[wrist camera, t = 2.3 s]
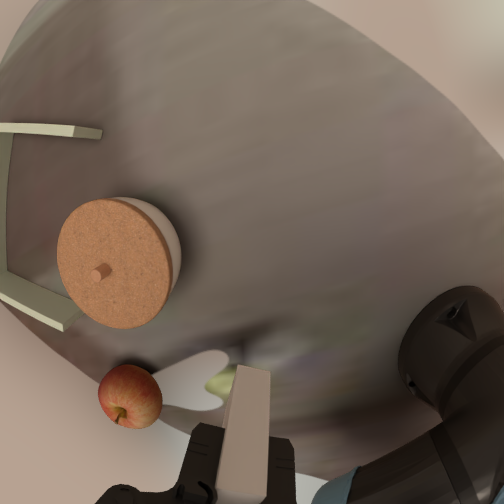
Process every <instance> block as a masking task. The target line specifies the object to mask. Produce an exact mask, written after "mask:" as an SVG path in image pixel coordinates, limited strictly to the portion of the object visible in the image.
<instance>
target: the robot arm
mask: <svg viewBox="0 0 504 504" xmlns="http://www.w3.org/2000/svg"><path fill="white" fill-rule="evenodd" d="M398 367H399V372H400V375H401V377H402V379H403V381H404V383H405V384H406V386H407V388H408V389H409V391H410V392H411V393H412V394H413V395H415V396H416V397H418V398H419V399H420V400H422V401H423V402H424V403H426V404H427V405H428V406H430V407H431V408H433V409H434V410H435V411H437V412H438V413H439V415H440V416H441V418H442V420H443V422H442V423H440V424H439V425H437V426H436V427H434V428H432V429H431V430H429V431H427V432H426V433H424V434H422V435H421V436H419V437H417V438H416V439H414V440H412V441H411V442H409V443H407V444H405V445H403V446H402V447H400V448H398V449H396V450H394V451H392V452H390V453H389V454H387V455H385V456H383V457H381V458H379V459H377V460H375V461H373V462H370V463H368V464H366V465H364V466H357V467H355V468H354V469H353V470H352V471H350V472H348V473H346V474H344V475H342V476H340V477H337V478H335V479H333V480H331V481H329V482H327V483H326V484H324V485H323V486H322V487H321V488H320V489H319V490H318V491H317V493H316V494H315V496H314V498H313V500H312V503H311V504H504V313H503V312H502V310H501V308H500V306H499V304H498V303H497V302H496V300H495V299H494V298H493V297H491V296H490V295H489V294H487V293H486V292H485V291H483V290H482V289H480V288H477V287H473V286H463V287H458V288H455V289H452V290H450V291H448V292H446V293H444V294H442V295H440V296H439V297H438V298H436V299H435V300H433V301H432V302H431V303H430V304H429V305H428V306H427V307H426V308H425V309H424V310H423V311H422V312H421V313H420V314H419V315H418V316H417V318H416V319H415V320H414V322H413V323H412V325H411V326H410V328H409V329H408V331H407V333H406V335H405V337H404V339H403V342H402V344H401V347H400V351H399V357H398ZM270 373H271V372H270V371H265V370H261V369H256V368H251V367H247V366H243V365H238V367H237V370H236V374H235V377H234V381H233V384H232V387H231V391H230V394H229V398H228V401H227V405H226V410H225V415H224V420H223V425H222V428H221V427H217V426H213V425H209V424H205V423H201V422H200V423H199V424H198V425H197V426H196V427H195V428H194V429H193V430H192V433H191V437H190V440H189V444H188V448H187V451H186V454H185V457H184V461H183V464H182V468H181V471H180V475H179V478H178V481H177V482H176V484H175V486H174V487H173V488H171V489H169V490H168V491H164V492H158V493H155V492H140V491H139V490H137V489H136V488H134V487H132V486H130V485H124V484H119V485H114V486H112V487H111V488H109V489H108V490H107V491H106V492H105V493H104V494H103V495H102V496H101V497H100V498H99V500H98V501H97V502H96V503H95V504H297V502H296V487H295V486H296V485H295V462H294V460H295V458H294V448H293V446H292V444H291V443H290V441H289V439H284V438H277V437H270V436H269V412H270Z"/></svg>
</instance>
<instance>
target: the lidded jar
mask: <svg viewBox="0 0 504 504" xmlns="http://www.w3.org/2000/svg"><path fill="white" fill-rule="evenodd" d="M57 261H58V267H59V272H60V275H61V278H62V281H63V284H64V286H65V288H66V290H67V292H68V293H69V295H70V297H71V298H72V300H73V301H74V302H75V303H76V304H77V306H78V307H79V308H80V309H81V310H82V311H83V312H84V313H86V314H87V315H88V316H89V317H91V318H92V319H94V320H96V321H97V322H99V323H101V324H104V325H106V326H110V327H113V328H121V329H128V328H135V327H139V326H142V325H144V324H146V323H148V322H149V321H150V320H152V319H153V318H154V317H155V316H156V315H157V314H158V313H159V312H160V311H161V309H162V308H163V306H164V304H165V303H166V301H167V299H168V297H169V295H170V294H171V292H172V290H173V289H174V286H175V284H176V281H177V279H178V276H179V272H180V267H181V246H180V242H179V238H178V236H177V233H176V231H175V229H174V227H173V225H172V224H171V222H170V221H169V220H168V218H167V217H166V216H165V215H164V214H163V213H162V212H161V211H160V210H159V209H157V208H156V207H155V206H153V205H151V204H149V203H147V202H145V201H142V200H138V199H135V198H127V197H115V198H104V199H96V200H93V201H90V202H87V203H84V204H83V205H81V206H79V207H78V208H77V209H75V210H74V211H73V212H72V213H71V214H70V215H69V217H68V218H67V219H66V221H65V223H64V225H63V227H62V229H61V232H60V235H59V240H58V245H57Z"/></svg>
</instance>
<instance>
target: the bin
mask: <svg viewBox="0 0 504 504" xmlns="http://www.w3.org/2000/svg"><path fill="white" fill-rule="evenodd" d="M102 131H103V130H99V129H93V128H86V127H79V126H69V125H54V124H32V123H0V299H1V300H3V301H5V302H7V303H8V304H10V305H12V306H14V307H15V308H17V309H19V310H21V311H23V312H25V313H26V314H28V315H30V316H32V317H34V318H36V319H38V320H40V321H42V322H44V323H46V324H48V325H50V326H52V327H54V328H56V329H58V330H60V331H62V332H64V331H65V330H66V329H67V328H68V327H69V326H70V325H72V324H73V323H74V322H75V321H76V320H77V319H78V318H80V317H81V316H82V315H83V314H84V312H83V311H82V310H81V309H80V308H79V307H78V306H77V304H76V303H75V302H74V301H73V300H71V299H68V298H66V297H64V296H61V295H59V294H57V293H54V292H52V291H50V290H47V289H45V288H43V287H41V286H38V285H36V284H34V283H32V282H30V281H28V280H25V279H23V278H21V277H19V276H17V275H15V274H13V273H11V272H9V271H7V256H6V200H7V185H8V174H9V164H10V156H11V149H12V142H13V136H14V133H32V134H46V135H58V136H68V137H79V138H90V139H100V140H101V136H102Z"/></svg>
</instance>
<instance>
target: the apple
mask: <svg viewBox="0 0 504 504" xmlns="http://www.w3.org/2000/svg"><path fill="white" fill-rule="evenodd" d="M98 397H99V401H100V404H101V407H102V409H103V410H104V412H105V413H106V414H107V416H108V417H109V418H110V419H111V420H112V421H113V422H115V424H119V425H121V426H124V427H127V428H133V429H142V428H146V427H148V426H150V425H152V424H153V423H154V422H155V421H156V420H157V419H158V417H159V415H160V413H161V409H162V393H161V391H160V388H159V386H158V384H157V382H156V381H155V379H154V378H153V377H152V376H151V375H150V373H149V372H147V371H146V370H144V369H142V368H140V367H138V366H135V365H128V364H127V365H121V366H118V367H115V368H113V369H112V370H110V371H109V372H108V373H107V374H106V375H105V377H104V378H103V379H102V381H101V383H100V386H99V389H98Z"/></svg>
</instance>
